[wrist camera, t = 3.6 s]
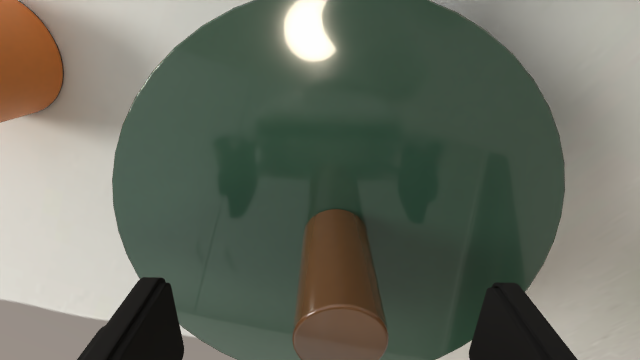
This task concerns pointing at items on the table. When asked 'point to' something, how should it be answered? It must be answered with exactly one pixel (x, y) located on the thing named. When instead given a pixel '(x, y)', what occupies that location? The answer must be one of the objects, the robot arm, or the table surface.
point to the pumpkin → (26, 62)
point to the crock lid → (338, 179)
